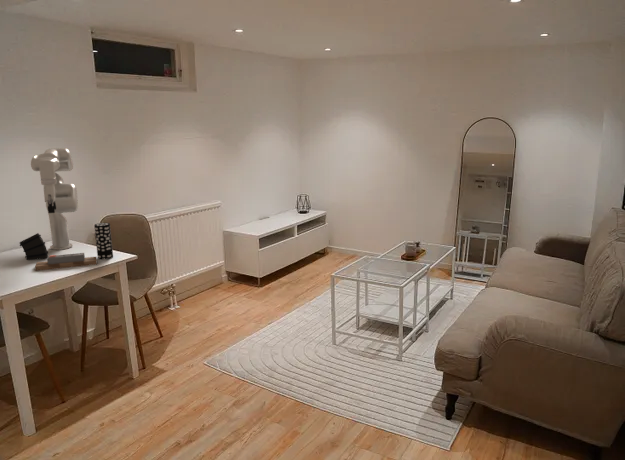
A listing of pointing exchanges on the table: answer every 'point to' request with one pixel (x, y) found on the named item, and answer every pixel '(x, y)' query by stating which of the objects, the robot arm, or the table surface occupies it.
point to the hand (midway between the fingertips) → (52, 211)
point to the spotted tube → (103, 241)
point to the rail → (65, 264)
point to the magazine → (34, 248)
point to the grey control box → (65, 258)
